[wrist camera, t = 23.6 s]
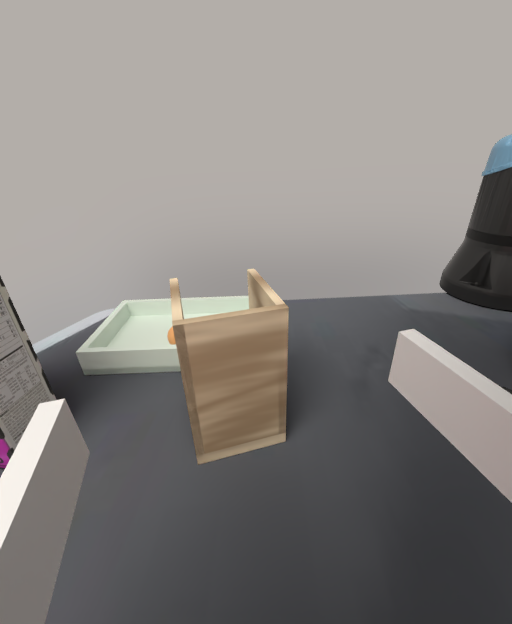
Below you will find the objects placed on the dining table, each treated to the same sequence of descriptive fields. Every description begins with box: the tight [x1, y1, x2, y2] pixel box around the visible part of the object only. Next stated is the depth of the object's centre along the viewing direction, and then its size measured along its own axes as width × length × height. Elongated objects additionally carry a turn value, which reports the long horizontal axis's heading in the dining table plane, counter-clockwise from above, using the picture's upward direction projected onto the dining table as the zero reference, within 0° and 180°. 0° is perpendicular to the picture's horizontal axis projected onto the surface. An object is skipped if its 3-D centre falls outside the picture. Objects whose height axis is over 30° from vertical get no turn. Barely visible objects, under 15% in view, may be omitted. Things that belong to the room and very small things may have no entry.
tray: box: [76, 296, 249, 375], centre depth 37 cm, size 20×13×3 cm, turn 91°
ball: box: [167, 326, 176, 345], centre depth 34 cm, size 3×3×3 cm
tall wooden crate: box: [170, 269, 289, 465], centre depth 23 cm, size 8×7×12 cm
